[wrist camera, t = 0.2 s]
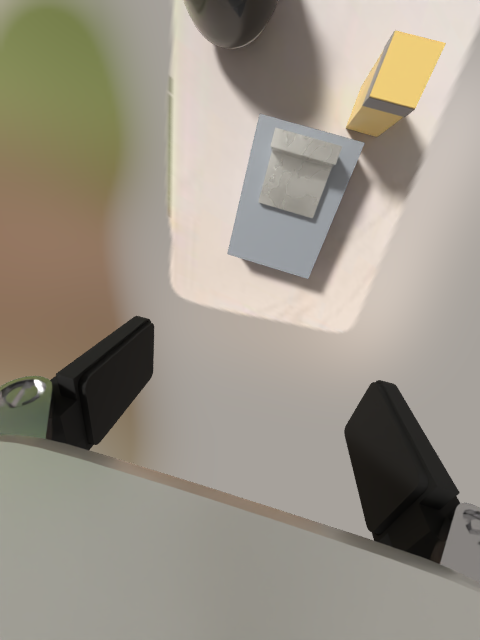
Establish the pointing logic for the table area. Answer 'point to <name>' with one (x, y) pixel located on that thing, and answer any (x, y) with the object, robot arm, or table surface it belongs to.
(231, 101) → the table surface
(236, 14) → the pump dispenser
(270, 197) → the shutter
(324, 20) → the table surface
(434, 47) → the plug
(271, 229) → the socket board
